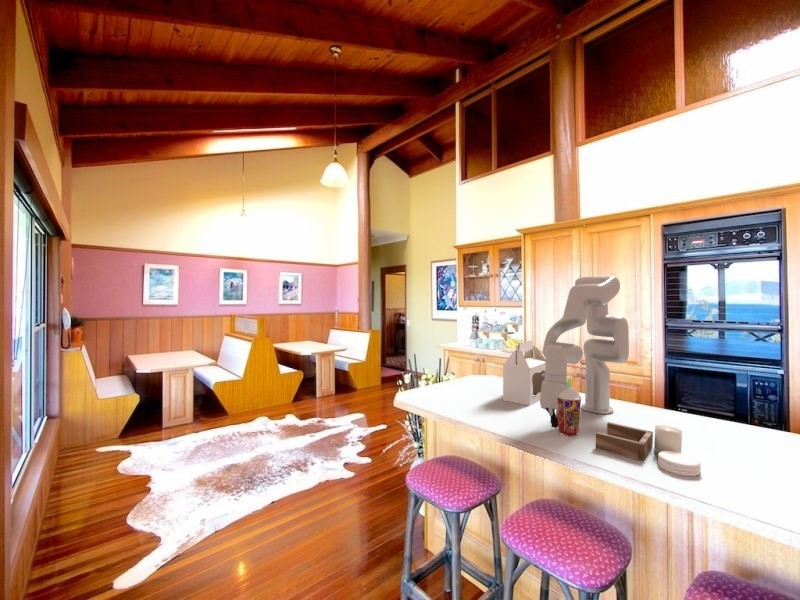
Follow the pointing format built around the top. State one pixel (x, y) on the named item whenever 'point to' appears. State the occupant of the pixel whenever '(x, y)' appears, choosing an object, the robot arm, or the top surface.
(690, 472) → the coaster
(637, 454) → the u rest
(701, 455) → the top surface
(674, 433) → the beige cylinder
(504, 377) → the gable box
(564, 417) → the smoothie
